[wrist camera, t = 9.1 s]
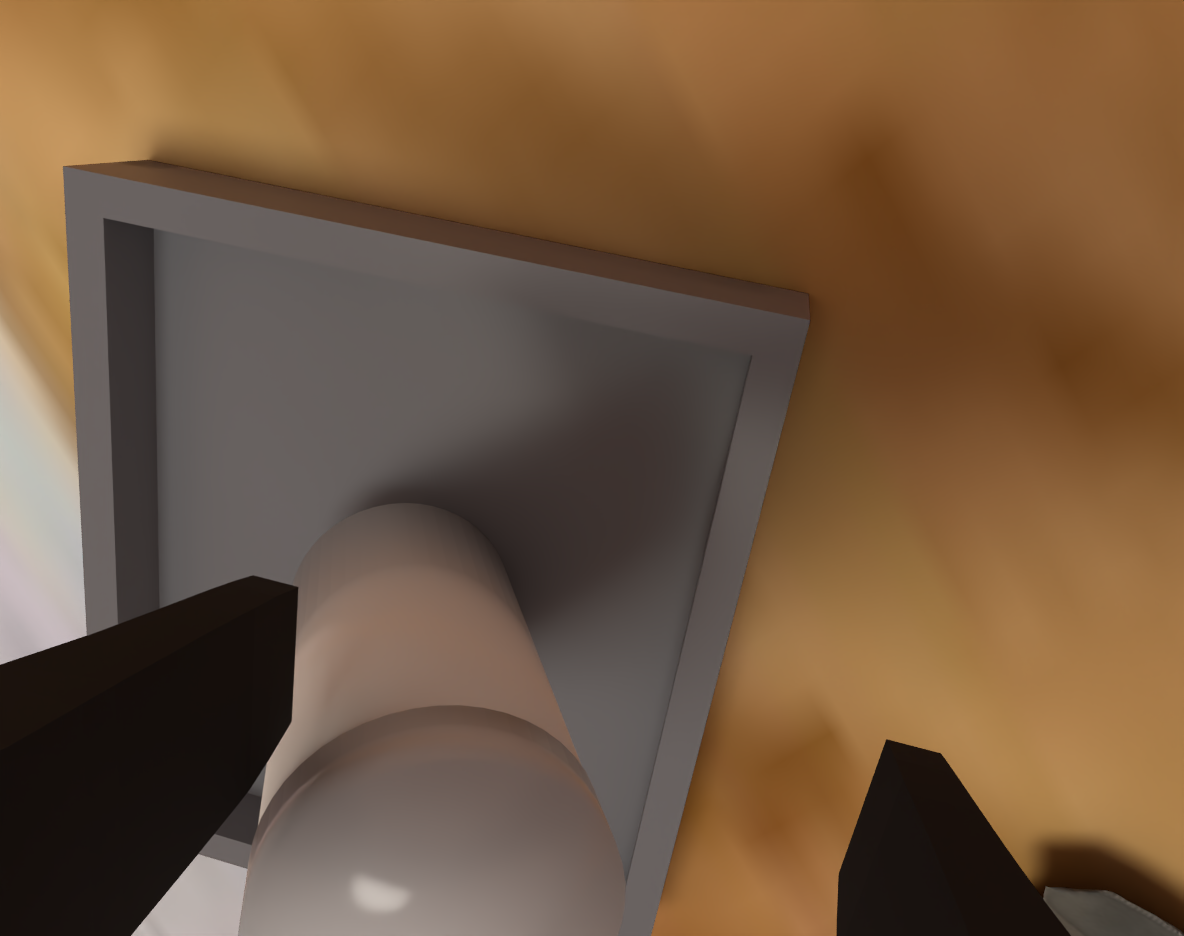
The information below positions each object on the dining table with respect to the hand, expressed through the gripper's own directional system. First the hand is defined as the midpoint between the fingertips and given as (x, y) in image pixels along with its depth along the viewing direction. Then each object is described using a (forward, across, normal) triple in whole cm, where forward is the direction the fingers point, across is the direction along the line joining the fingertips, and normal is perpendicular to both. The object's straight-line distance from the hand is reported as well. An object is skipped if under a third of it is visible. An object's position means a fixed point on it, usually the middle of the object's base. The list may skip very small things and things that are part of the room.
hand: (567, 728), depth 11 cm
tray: (+9, +5, +4) cm, 11 cm away
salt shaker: (+7, +5, +4) cm, 10 cm away
